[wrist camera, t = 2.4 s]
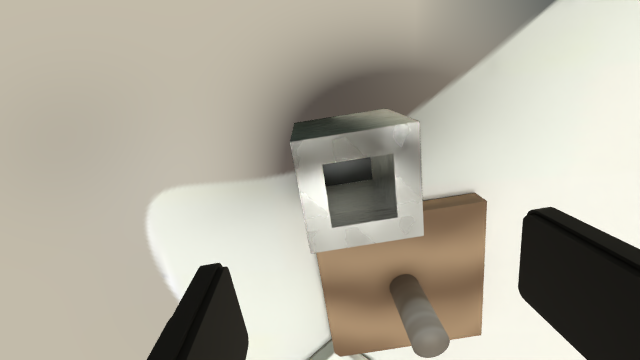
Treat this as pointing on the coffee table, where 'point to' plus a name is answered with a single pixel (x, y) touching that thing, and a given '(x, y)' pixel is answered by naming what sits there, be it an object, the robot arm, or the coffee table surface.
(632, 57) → the coffee table surface
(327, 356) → the external hard drive
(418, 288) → the shaft block
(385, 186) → the grey hollow cube
